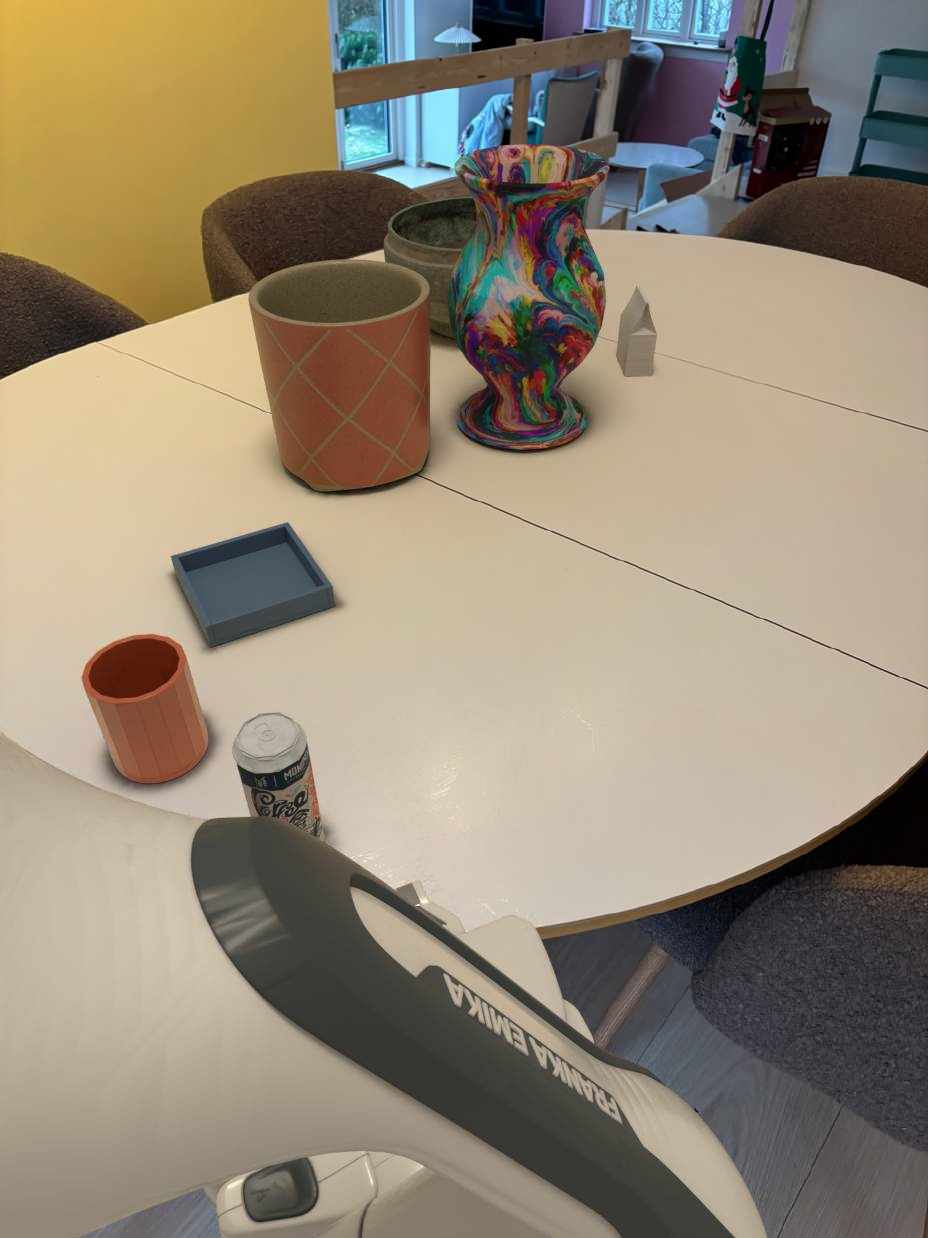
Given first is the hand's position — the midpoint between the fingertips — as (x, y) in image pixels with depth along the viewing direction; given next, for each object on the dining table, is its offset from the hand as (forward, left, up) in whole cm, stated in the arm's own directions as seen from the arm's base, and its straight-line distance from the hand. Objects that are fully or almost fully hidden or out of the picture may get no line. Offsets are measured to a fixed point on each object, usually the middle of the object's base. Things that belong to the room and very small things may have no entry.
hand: (330, 918), depth 51 cm
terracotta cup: (-5, +26, -8) cm, 28 cm away
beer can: (+1, +12, -9) cm, 15 cm away
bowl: (+59, +90, -9) cm, 108 cm away
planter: (+27, +61, -9) cm, 67 cm away
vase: (+49, +59, -9) cm, 77 cm away
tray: (+8, +42, -8) cm, 44 cm away
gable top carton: (+71, +65, -9) cm, 97 cm away
